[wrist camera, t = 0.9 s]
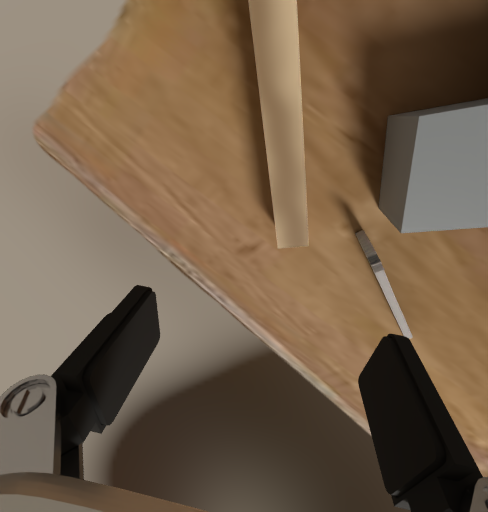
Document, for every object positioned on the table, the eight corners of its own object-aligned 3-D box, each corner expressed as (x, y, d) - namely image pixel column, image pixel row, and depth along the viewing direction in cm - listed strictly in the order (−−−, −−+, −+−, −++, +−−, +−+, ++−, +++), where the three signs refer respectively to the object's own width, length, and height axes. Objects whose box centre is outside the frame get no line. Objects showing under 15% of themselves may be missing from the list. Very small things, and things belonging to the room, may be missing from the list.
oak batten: (293, -37, 20) (292, -77, 16) (307, 228, 31) (308, 246, 27) (252, -22, 21) (241, -57, 17) (280, 230, 32) (277, 248, 28)
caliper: (353, 231, 30) (365, 255, 25) (362, 227, 30) (376, 251, 25) (404, 336, 37) (422, 373, 32) (411, 335, 37) (431, 372, 32)
